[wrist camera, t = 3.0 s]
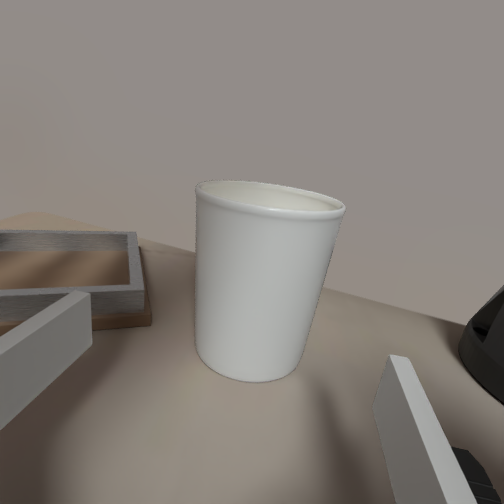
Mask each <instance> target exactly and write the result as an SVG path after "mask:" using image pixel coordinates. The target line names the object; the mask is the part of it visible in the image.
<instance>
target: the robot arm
mask: <svg viewBox="0 0 504 504" xmlns="http://www.w3.org/2000/svg"><path fill="white" fill-rule="evenodd" d="M91 346H92V322H91V295H90V293H86V292H82V291H77V290H74V291H73V292H71V293H69V294H68V295H66V296H65V297H63V298H61V299H60V300H58V301H57V302H55V303H53V304H52V305H50V306H49V307H47V308H45V309H44V310H42V311H41V312H39V313H37V314H36V315H34V316H33V317H31V318H29V319H28V320H26V321H25V322H23V323H21V324H20V325H18V326H17V327H15V328H13V329H12V330H10V331H9V332H7V333H5V334H4V335H2V336H1V337H0V430H1V429H2V428H4V427H5V426H6V425H7V424H8V423H9V422H10V421H11V420H12V419H13V418H14V417H15V416H16V415H17V414H19V413H20V412H21V411H22V410H23V409H24V408H25V407H26V406H27V405H28V404H29V403H30V402H31V401H33V400H34V399H35V398H36V397H37V396H38V395H39V394H40V393H41V392H42V391H43V390H44V389H45V388H47V387H48V386H49V385H50V384H51V383H52V382H53V381H54V380H55V379H56V378H57V377H58V376H59V375H60V374H62V373H63V372H64V371H65V370H66V369H67V368H68V367H69V366H70V365H71V364H72V363H73V362H74V361H76V360H77V359H78V358H79V357H80V356H81V355H82V354H83V353H84V352H85V351H86V350H87V349H88V348H90V347H91ZM459 354H460V356H461V359H462V361H463V362H464V364H465V366H466V367H467V368H468V370H469V371H470V372H471V373H472V375H473V376H474V377H475V378H476V379H477V380H478V381H479V382H480V383H481V384H482V385H483V386H484V387H485V388H486V389H487V390H489V391H490V392H491V393H492V394H493V395H494V396H496V397H497V398H498V399H499V400H501V401H502V402H503V403H504V285H503V286H502V288H500V290H499V291H498V292H497V293H496V294H495V295H494V296H493V297H492V298H491V299H490V300H489V301H488V302H487V303H486V304H485V305H484V306H483V307H482V308H481V309H480V310H479V311H478V312H477V313H476V314H475V315H474V316H473V317H472V318H471V320H470V321H469V322H468V324H467V325H466V328H465V330H464V333H463V335H462V338H461V340H460V343H459ZM372 409H373V413H374V417H375V421H376V425H377V429H378V433H379V437H380V441H381V445H382V449H383V453H384V457H385V461H386V466H387V470H388V474H389V478H390V482H391V486H392V490H393V494H394V498H395V502H396V504H501V500H500V498H499V496H498V494H497V492H496V490H495V489H493V485H492V483H491V481H490V479H489V478H488V476H487V474H486V472H485V470H484V468H483V467H482V466H481V465H480V464H479V462H478V461H477V460H476V459H475V458H474V457H473V456H472V455H471V454H470V453H469V451H468V450H463V449H459V448H455V447H450V445H449V442H448V440H447V438H446V436H445V434H444V432H443V430H442V428H441V426H440V423H439V421H438V419H437V417H436V415H435V413H434V411H433V409H432V407H431V404H430V402H429V400H428V398H427V396H426V394H425V392H424V390H423V388H422V385H421V383H420V381H419V379H418V377H417V375H416V373H415V371H414V369H413V366H412V364H411V362H410V360H409V358H406V357H401V356H396V355H391V354H389V356H388V359H387V362H386V365H385V368H384V371H383V374H382V378H381V381H380V384H379V387H378V390H377V393H376V396H375V399H374V402H373V406H372Z"/></svg>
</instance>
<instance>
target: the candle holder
mask: <svg viewBox="0 0 504 504" xmlns="http://www.w3.org/2000/svg"><path fill="white" fill-rule="evenodd" d="M195 193H196V256H195V346H196V350H197V353H198V355H199V357H200V358H201V360H202V361H203V362H204V363H205V364H206V365H207V366H208V367H209V368H211V369H212V370H214V371H215V372H217V373H219V374H221V375H223V376H225V377H228V378H231V379H234V380H238V381H244V382H255V383H258V382H269V381H274V380H277V379H280V378H283V377H285V376H286V375H288V374H290V373H291V372H292V371H293V370H294V369H295V368H296V367H297V366H298V364H299V362H300V360H301V357H302V355H303V352H304V348H305V345H306V342H307V339H308V335H309V332H310V328H311V325H312V321H313V318H314V315H315V311H316V308H317V304H318V301H319V297H320V294H321V290H322V287H323V283H324V279H325V276H326V273H327V269H328V266H329V262H330V259H331V256H332V252H333V248H334V245H335V241H336V238H337V234H338V231H339V228H340V224H341V221H342V218H343V216H344V214H345V212H346V206H345V204H344V203H342V202H341V201H339V200H337V199H334V198H332V197H329V196H326V195H323V194H320V193H316V192H312V191H308V190H303V189H299V188H294V187H288V186H282V185H276V184H269V183H261V182H251V181H237V180H211V181H204V182H201V183H199V184H197V185H196V188H195Z"/></svg>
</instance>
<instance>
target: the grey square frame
mask: <svg viewBox="0 0 504 504" xmlns="http://www.w3.org/2000/svg"><path fill="white" fill-rule="evenodd" d="M0 251H127V255H128V273H129V285H106V286H81V287H56V288H31V289H6V290H0V322H8V321H22V320H28V319H29V318H31V317H33V316H34V315H36V314H37V313H39V312H41V311H42V310H44V309H45V308H47V307H49V306H50V305H52V304H53V303H55V302H57V301H58V300H60V299H61V298H63V297H65V296H66V295H68V294H69V293H71V292H73V291H74V290H77V291H82V292H86V293H90V295H91V316H93V315H107V314H121V313H135V312H144V283H143V276H142V269H141V262H140V255H139V248H138V241H137V235H136V232H111V231H50V230H0Z"/></svg>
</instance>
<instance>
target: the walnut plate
mask: <svg viewBox="0 0 504 504" xmlns="http://www.w3.org/2000/svg"><path fill="white" fill-rule="evenodd" d="M138 248H139V255H140V262H141V269H142V276H143V283H144V312H135V313H121V314H107V315H93V316H91V322H92V330H104V329H115V328H127V327H139V326H150V325H151V312H150V305H149V299H148V293H147V286H146V280H145V274H144V268H143V261H142V255H141V249H140V246H138ZM106 285H129V273H128V255H127V251H0V290H6V289H31V288H56V287H81V286H106ZM25 321H26V320H22V321H8V322H0V337H1V336H2V335H4V334H5V333H7V332H9V331H10V330H12V329H13V328H15V327H17V326H18V325H20V324H21V323H23V322H25Z"/></svg>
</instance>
